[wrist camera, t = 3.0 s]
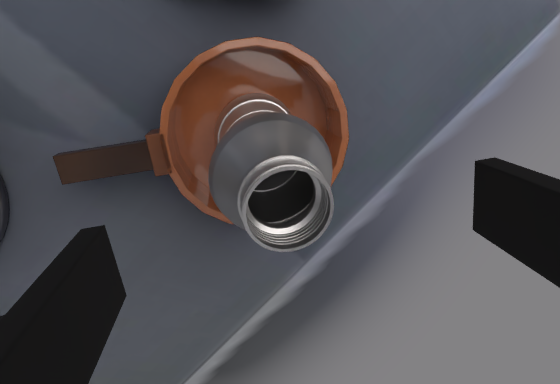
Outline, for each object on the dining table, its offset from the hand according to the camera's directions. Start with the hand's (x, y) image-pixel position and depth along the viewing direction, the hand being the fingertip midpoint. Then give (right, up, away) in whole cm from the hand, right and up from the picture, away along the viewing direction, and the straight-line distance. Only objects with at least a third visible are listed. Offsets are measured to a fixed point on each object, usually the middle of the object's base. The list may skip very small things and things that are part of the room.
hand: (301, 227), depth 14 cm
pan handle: (-13, +4, +17) cm, 22 cm away
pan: (-3, +7, +20) cm, 22 cm away
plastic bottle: (-3, +7, +20) cm, 22 cm away
